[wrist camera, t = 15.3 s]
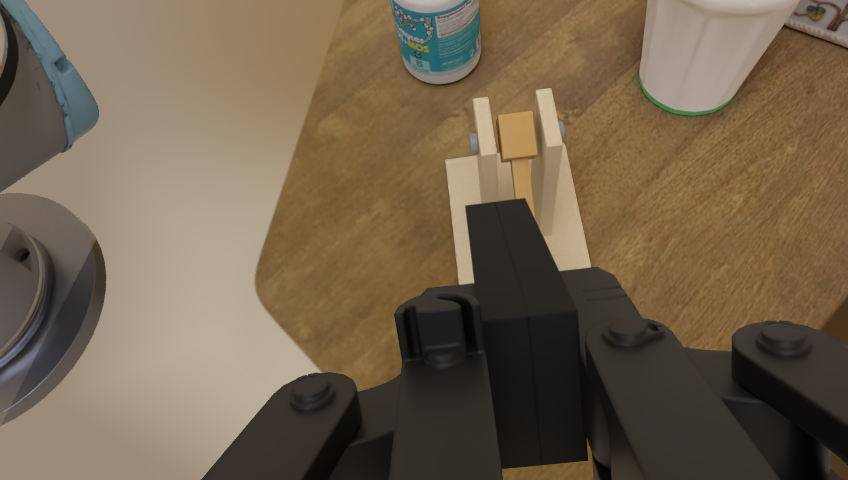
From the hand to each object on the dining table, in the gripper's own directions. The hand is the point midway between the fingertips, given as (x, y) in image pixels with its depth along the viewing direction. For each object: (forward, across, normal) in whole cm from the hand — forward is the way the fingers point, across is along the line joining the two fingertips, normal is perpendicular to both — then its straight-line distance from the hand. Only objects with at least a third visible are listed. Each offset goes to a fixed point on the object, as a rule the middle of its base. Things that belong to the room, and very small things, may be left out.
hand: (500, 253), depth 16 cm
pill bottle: (+48, -1, +2) cm, 48 cm away
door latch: (+35, +3, -10) cm, 36 cm away
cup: (+44, +20, -2) cm, 48 cm away
